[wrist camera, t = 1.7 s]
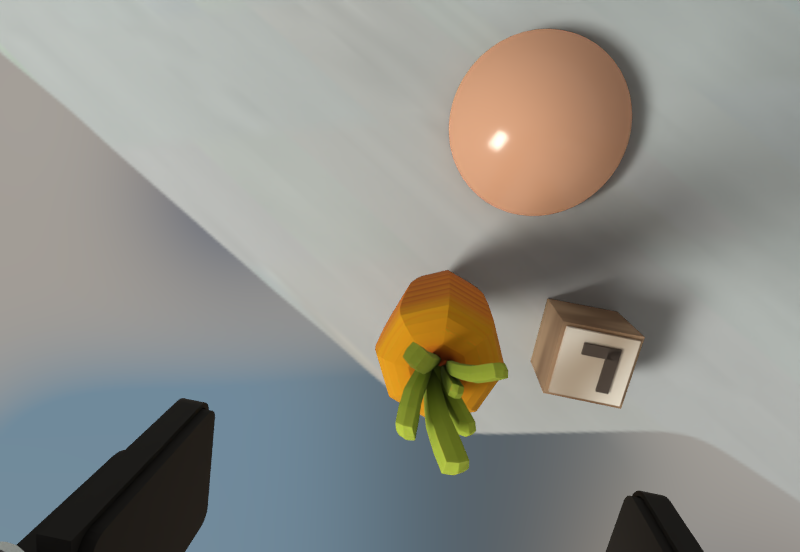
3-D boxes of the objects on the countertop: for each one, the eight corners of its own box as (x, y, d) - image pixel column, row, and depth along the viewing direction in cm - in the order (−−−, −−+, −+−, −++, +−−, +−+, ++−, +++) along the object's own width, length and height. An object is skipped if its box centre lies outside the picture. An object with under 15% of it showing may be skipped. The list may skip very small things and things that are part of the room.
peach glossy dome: (646, 50, 24) (656, 45, 22) (595, 227, 26) (602, 230, 25) (468, 21, 24) (469, 14, 23) (434, 197, 26) (433, 199, 25)
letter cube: (616, 311, 27) (647, 340, 23) (597, 373, 28) (623, 412, 24) (547, 297, 27) (565, 323, 23) (530, 360, 28) (544, 396, 24)
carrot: (407, 238, 27) (357, 333, 13) (493, 251, 27) (543, 364, 12) (396, 319, 28) (339, 488, 14) (478, 332, 28) (507, 520, 14)
